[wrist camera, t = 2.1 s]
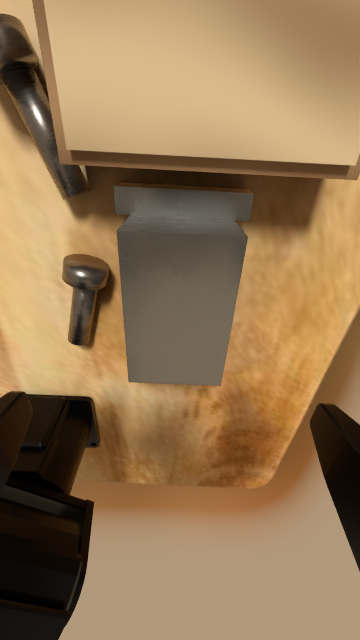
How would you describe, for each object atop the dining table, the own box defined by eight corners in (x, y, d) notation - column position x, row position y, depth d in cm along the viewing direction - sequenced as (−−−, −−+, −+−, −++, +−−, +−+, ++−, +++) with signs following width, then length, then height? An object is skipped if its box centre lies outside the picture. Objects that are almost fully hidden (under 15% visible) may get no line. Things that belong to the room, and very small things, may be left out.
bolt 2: (99, 337, 19) (88, 359, 17) (64, 328, 18) (50, 350, 16) (113, 262, 16) (103, 278, 14) (72, 250, 15) (56, 264, 13)
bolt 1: (102, 184, 14) (84, 190, 11) (62, 199, 14) (39, 208, 12) (35, 30, 11) (-4, 3, 9) (-12, 58, 11) (-58, 38, 9)
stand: (323, 175, 13) (362, 180, 10) (84, 162, 13) (56, 164, 10) (436, -204, 8) (581, -409, 5) (33, -236, 8) (-56, -467, 5)
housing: (219, 346, 19) (230, 401, 15) (131, 343, 19) (117, 396, 15) (245, 188, 14) (273, 204, 9) (121, 182, 14) (94, 194, 9)
